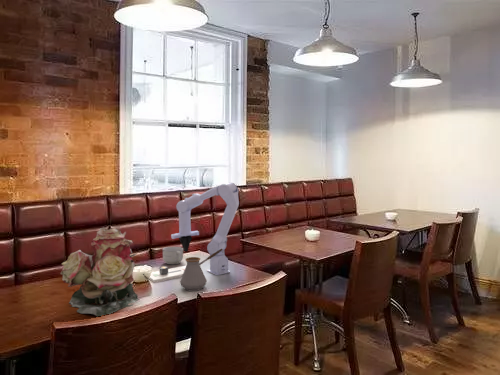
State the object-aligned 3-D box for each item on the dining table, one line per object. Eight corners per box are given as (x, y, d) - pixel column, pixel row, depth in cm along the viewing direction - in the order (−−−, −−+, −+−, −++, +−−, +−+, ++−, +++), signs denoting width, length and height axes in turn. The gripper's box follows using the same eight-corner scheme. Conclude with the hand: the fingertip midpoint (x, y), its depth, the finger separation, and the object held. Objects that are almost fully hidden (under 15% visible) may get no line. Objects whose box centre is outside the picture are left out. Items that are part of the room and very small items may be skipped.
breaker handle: (168, 273, 194) (167, 267, 194) (162, 274, 192) (161, 268, 192) (165, 271, 196) (165, 266, 196) (159, 273, 195) (159, 267, 194)
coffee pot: (188, 294, 169) (187, 259, 168) (175, 287, 179) (174, 253, 177) (230, 284, 182) (230, 250, 181) (217, 277, 191) (216, 246, 190)
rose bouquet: (54, 305, 159) (50, 229, 156) (124, 287, 180) (121, 219, 177) (83, 325, 141) (78, 239, 138) (156, 302, 162) (153, 227, 159)
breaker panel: (197, 273, 198) (197, 271, 198) (153, 282, 185) (153, 279, 185) (186, 267, 208) (186, 265, 207) (144, 276, 195) (144, 273, 195)
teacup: (160, 261, 220) (160, 247, 219) (180, 259, 224) (180, 244, 224) (167, 268, 207) (166, 252, 206) (187, 265, 212) (187, 250, 211)
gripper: (193, 221, 212) (194, 247, 214) (168, 224, 204) (169, 251, 205) (200, 223, 207) (201, 249, 208) (174, 226, 198) (175, 254, 199)
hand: (185, 250), depth 206 cm, fingers closed
